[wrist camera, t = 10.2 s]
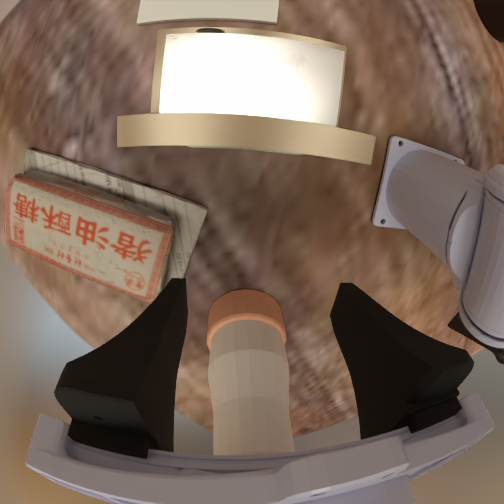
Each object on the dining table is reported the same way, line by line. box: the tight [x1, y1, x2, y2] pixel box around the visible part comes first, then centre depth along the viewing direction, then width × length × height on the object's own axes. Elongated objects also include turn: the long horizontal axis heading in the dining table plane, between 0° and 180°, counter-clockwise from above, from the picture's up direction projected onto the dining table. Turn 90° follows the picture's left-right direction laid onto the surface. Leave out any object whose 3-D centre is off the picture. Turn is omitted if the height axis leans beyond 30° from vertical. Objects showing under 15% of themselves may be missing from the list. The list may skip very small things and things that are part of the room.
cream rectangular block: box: [159, 28, 345, 127], centre depth 13 cm, size 9×5×5 cm, turn 85°
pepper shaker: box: [207, 289, 295, 455], centre depth 18 cm, size 7×7×19 cm
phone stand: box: [448, 312, 504, 364], centre depth 25 cm, size 9×6×12 cm, turn 152°
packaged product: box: [4, 148, 207, 303], centre depth 19 cm, size 18×5×10 cm
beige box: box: [117, 27, 376, 165], centre depth 13 cm, size 13×8×7 cm, turn 85°
